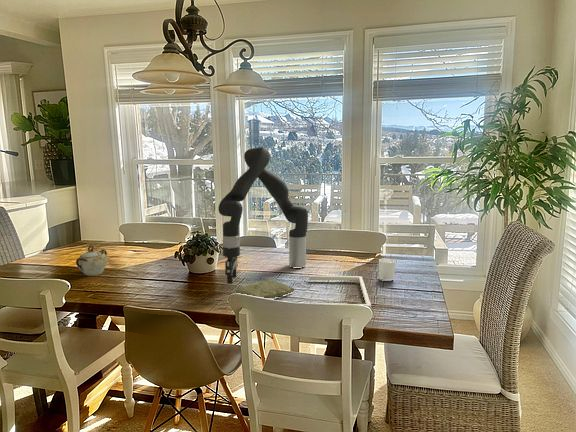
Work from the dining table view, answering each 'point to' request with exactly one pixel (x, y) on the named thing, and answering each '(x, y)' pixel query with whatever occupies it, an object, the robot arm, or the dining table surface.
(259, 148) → the robot arm
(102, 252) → the sugar bowl
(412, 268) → the dining table surface
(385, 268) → the white cup
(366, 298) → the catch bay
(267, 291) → the decorative tile
